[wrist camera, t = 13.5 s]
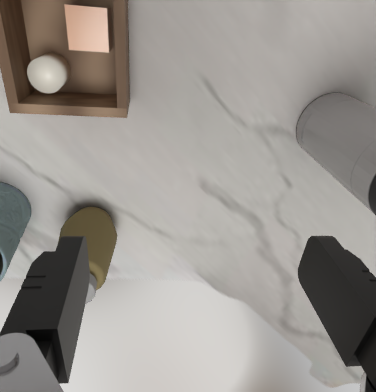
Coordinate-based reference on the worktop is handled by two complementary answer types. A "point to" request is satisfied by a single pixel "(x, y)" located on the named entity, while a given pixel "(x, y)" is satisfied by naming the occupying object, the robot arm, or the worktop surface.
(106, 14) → the peach cube
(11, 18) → the walnut box
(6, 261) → the grey-blue cup
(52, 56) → the cream cylinder
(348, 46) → the worktop surface
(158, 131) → the worktop surface
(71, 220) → the squeeze bottle
